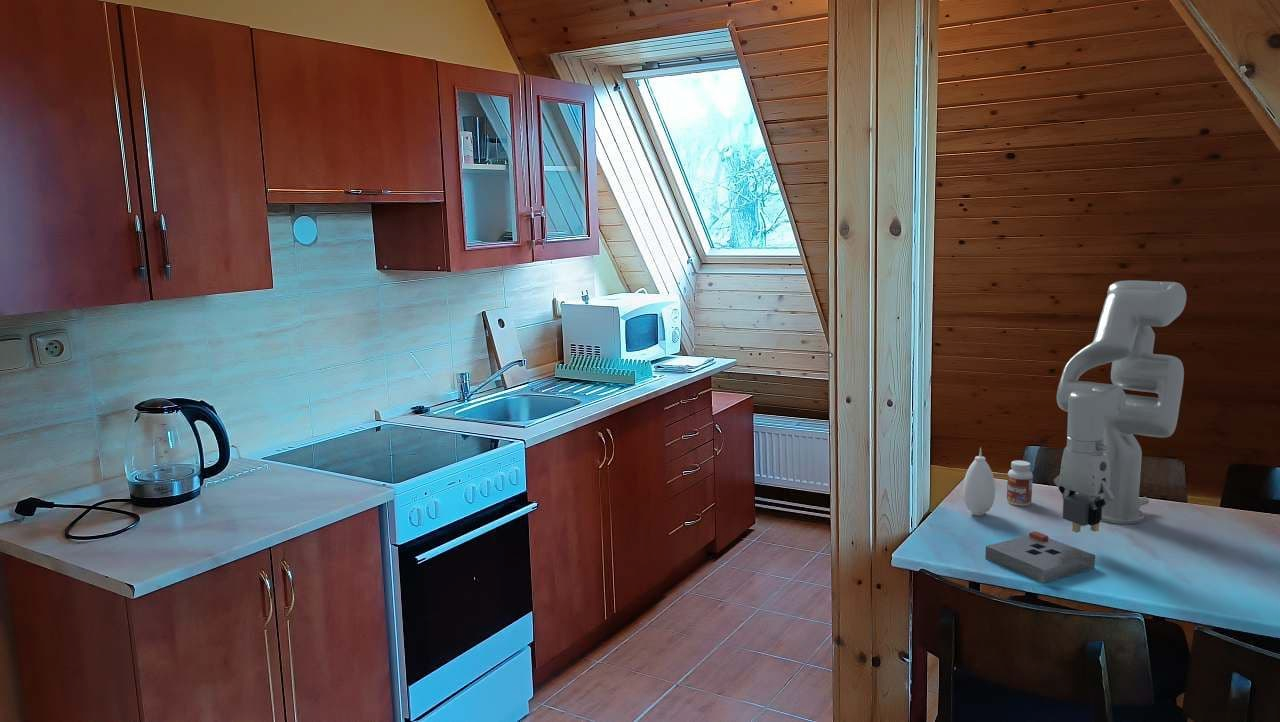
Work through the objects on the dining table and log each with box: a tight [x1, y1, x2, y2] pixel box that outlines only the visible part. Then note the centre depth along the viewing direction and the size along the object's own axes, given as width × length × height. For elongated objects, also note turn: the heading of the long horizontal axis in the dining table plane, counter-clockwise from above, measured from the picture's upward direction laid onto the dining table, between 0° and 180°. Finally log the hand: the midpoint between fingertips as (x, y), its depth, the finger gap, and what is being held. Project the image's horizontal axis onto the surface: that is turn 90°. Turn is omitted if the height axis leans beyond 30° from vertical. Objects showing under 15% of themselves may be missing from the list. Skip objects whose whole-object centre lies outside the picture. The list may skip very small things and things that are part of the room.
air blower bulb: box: [962, 446, 996, 517], centre depth 239 cm, size 8×8×18 cm
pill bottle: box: [1006, 459, 1034, 507], centre depth 247 cm, size 6×6×11 cm
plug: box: [1062, 493, 1102, 533], centre depth 213 cm, size 6×6×8 cm
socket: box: [984, 530, 1096, 584], centre depth 208 cm, size 16×16×4 cm
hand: (1082, 518), depth 214 cm, fingers closed on plug, 5 cm apart
